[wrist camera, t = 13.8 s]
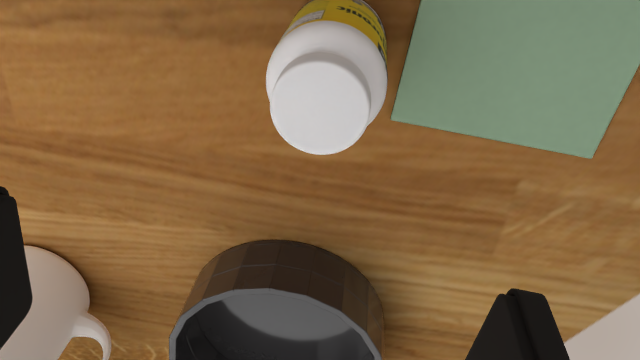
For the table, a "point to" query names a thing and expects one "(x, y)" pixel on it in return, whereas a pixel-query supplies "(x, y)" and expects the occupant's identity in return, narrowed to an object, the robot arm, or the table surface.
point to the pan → (279, 307)
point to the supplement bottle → (328, 75)
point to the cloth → (520, 69)
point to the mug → (54, 311)
